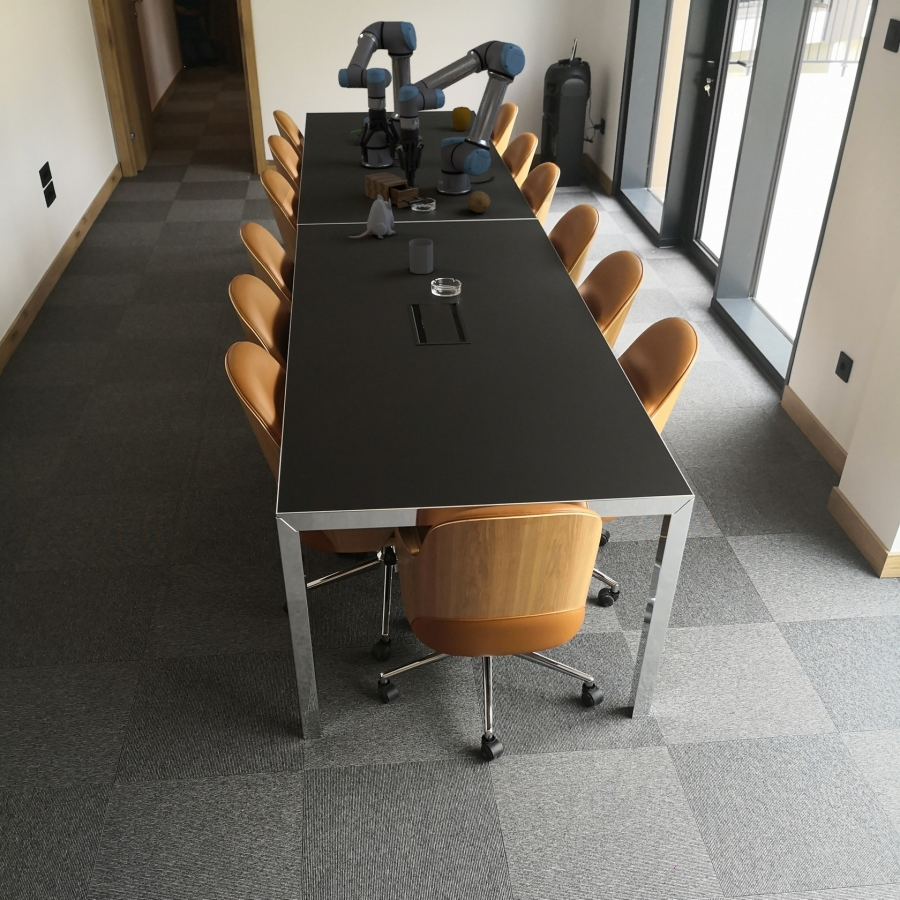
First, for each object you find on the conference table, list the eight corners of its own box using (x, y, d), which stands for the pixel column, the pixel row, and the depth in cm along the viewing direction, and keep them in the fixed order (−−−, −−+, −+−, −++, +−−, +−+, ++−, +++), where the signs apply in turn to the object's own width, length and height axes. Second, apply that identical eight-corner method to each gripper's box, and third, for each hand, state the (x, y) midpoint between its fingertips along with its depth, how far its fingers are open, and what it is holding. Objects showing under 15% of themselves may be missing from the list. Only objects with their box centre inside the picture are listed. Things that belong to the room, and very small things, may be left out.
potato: (488, 206, 371) (488, 187, 367) (492, 216, 359) (492, 197, 355) (465, 206, 370) (465, 188, 366) (468, 217, 358) (468, 197, 354)
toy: (401, 233, 341) (400, 195, 333) (356, 248, 326) (354, 209, 318) (385, 228, 346) (384, 190, 338) (340, 243, 331) (337, 204, 323)
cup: (409, 265, 311) (408, 238, 306) (432, 265, 312) (431, 238, 307) (410, 274, 304) (409, 246, 299) (433, 273, 305) (433, 246, 299)
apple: (471, 132, 486) (471, 108, 479) (451, 132, 486) (451, 108, 479) (470, 128, 495) (471, 104, 488) (452, 128, 495) (452, 104, 488)
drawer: (426, 207, 367) (425, 191, 363) (406, 211, 362) (406, 195, 358) (397, 194, 382) (397, 179, 378) (378, 198, 377) (378, 183, 373)
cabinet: (408, 201, 378) (408, 180, 373) (387, 205, 372) (386, 185, 367) (386, 191, 390) (386, 171, 385) (365, 195, 384) (364, 175, 379)
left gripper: (356, 113, 356) (358, 166, 367) (406, 106, 368) (408, 157, 379) (346, 110, 361) (350, 162, 372) (397, 103, 373) (398, 153, 384)
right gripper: (400, 131, 344) (402, 191, 357) (427, 127, 350) (428, 186, 363) (390, 128, 349) (392, 187, 362) (417, 124, 355) (418, 182, 368)
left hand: (379, 160), depth 376 cm, fingers open, 13 cm apart
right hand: (410, 186), depth 362 cm, fingers closed
